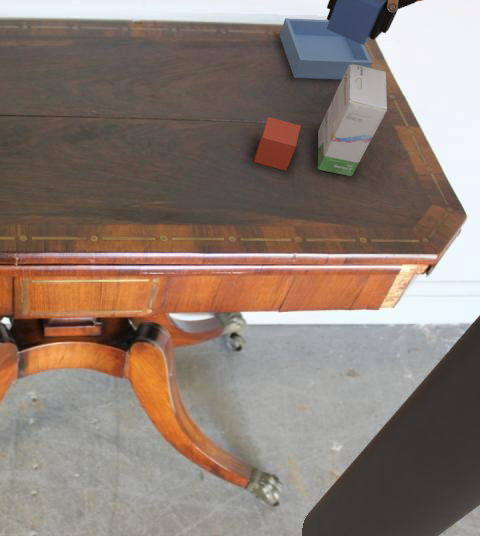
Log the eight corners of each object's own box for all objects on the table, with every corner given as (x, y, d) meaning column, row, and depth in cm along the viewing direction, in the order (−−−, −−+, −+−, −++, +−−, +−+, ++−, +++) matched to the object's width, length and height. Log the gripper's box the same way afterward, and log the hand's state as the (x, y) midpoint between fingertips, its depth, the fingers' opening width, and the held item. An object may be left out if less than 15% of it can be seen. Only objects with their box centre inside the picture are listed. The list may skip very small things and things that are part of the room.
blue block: (379, 28, 89) (396, -9, 85) (363, 45, 87) (379, 8, 83) (343, 12, 91) (358, -25, 87) (326, 28, 88) (340, -9, 85)
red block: (291, 150, 100) (301, 125, 96) (286, 171, 97) (296, 146, 93) (259, 141, 100) (268, 116, 97) (253, 162, 98) (262, 136, 94)
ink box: (317, 131, 103) (346, 60, 93) (354, 138, 102) (386, 68, 93) (316, 170, 97) (346, 100, 88) (354, 178, 97) (389, 108, 88)
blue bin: (345, 38, 118) (353, 20, 115) (364, 80, 111) (372, 62, 108) (279, 36, 117) (285, 18, 115) (293, 78, 110) (300, 59, 108)
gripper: (510, -114, 73) (431, 40, 88) (358, -165, 79) (306, -13, 93) (487, -90, 69) (407, 67, 84) (328, -146, 75) (279, 10, 90)
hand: (355, 23), depth 88 cm, fingers closed on blue block, 5 cm apart
